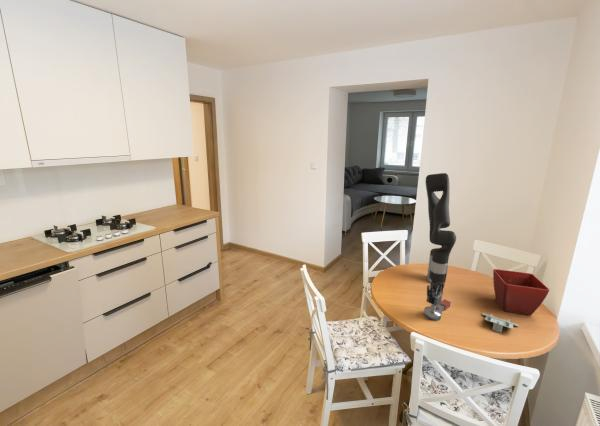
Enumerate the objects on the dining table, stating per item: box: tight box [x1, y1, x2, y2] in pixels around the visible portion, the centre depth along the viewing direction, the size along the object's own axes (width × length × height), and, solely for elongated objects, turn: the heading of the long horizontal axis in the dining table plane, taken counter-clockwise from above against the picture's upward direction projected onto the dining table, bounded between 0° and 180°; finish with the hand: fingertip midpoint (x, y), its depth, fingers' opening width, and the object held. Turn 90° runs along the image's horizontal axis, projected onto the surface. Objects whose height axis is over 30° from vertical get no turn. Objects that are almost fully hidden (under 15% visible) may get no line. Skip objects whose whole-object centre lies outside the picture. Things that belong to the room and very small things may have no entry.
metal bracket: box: [481, 312, 519, 334], centre depth 144 cm, size 14×6×15 cm
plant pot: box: [492, 268, 550, 316], centre depth 157 cm, size 19×19×17 cm
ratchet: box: [423, 299, 452, 322], centre depth 153 cm, size 20×8×6 cm, turn 129°
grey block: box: [426, 290, 444, 306], centre depth 147 cm, size 5×5×6 cm
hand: (433, 301), depth 148 cm, fingers closed on grey block, 5 cm apart
